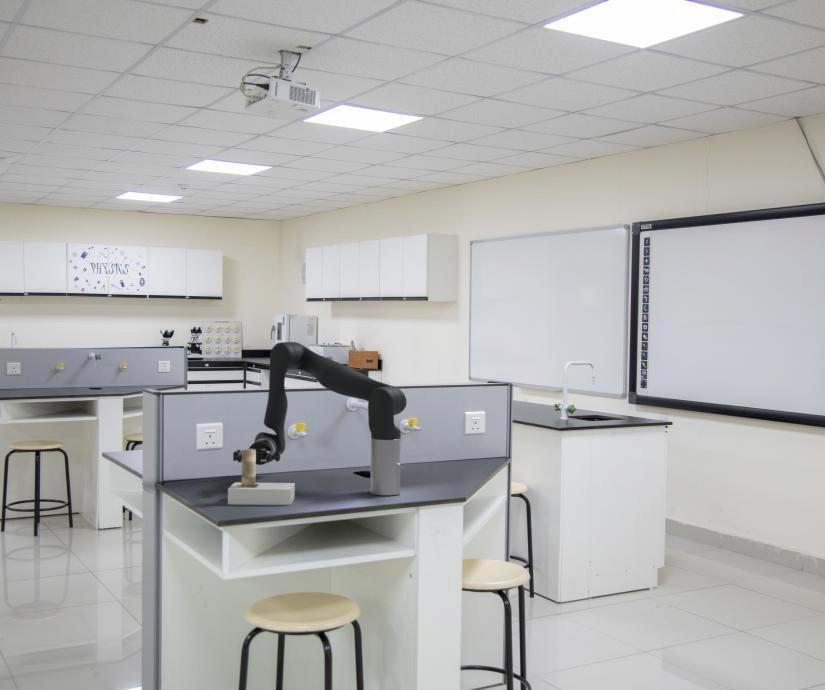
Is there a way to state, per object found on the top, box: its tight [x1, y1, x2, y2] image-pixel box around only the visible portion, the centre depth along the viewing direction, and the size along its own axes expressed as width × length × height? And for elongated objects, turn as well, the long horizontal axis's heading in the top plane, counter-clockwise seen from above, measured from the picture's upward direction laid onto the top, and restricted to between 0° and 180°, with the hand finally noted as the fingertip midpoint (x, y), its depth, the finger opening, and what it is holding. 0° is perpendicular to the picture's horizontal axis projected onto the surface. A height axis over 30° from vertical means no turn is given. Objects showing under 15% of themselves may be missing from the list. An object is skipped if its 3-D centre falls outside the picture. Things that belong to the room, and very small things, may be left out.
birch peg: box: [241, 448, 257, 488], centre depth 248 cm, size 4×4×15 cm
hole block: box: [227, 481, 296, 506], centre depth 248 cm, size 18×10×4 cm, turn 91°
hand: (253, 459), depth 256 cm, fingers open, 8 cm apart
